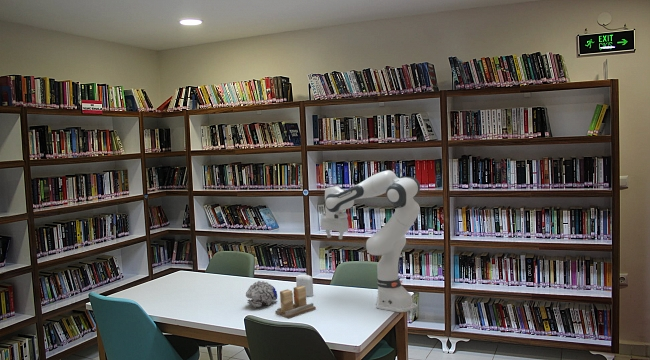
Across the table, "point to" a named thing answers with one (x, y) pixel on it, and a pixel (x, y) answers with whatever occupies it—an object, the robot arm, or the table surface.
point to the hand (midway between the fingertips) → (334, 238)
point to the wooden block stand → (291, 306)
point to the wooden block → (299, 296)
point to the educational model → (261, 294)
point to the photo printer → (305, 283)
